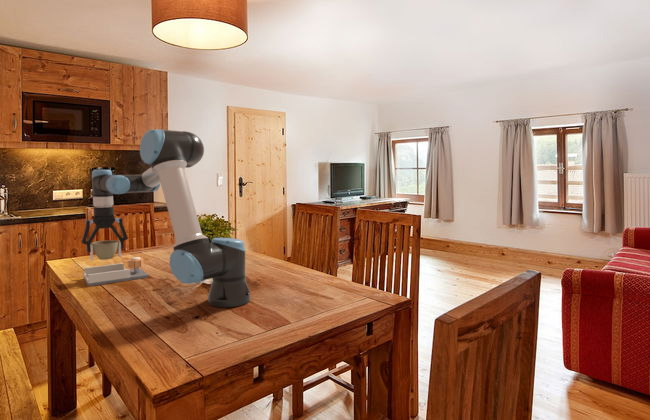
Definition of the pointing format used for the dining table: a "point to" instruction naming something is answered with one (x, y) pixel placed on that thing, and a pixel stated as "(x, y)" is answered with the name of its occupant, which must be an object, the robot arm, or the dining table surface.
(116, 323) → the dining table surface
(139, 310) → the dining table surface
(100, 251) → the flower pot
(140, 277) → the chassis
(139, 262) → the wheel
